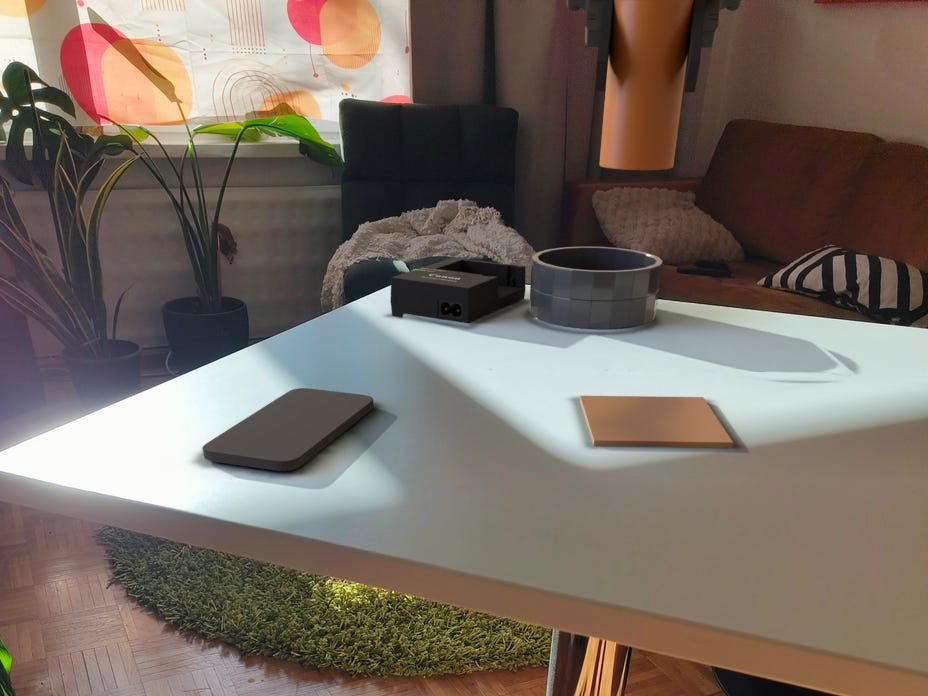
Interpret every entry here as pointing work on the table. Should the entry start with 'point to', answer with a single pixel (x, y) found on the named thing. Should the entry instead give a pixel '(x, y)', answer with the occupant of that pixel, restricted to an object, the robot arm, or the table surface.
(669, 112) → the bottle
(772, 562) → the table surface
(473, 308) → the battery charger
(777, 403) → the table surface
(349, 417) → the phone
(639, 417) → the cork mat
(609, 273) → the pot
